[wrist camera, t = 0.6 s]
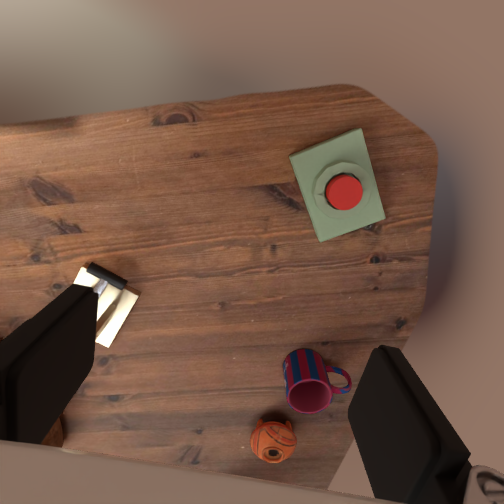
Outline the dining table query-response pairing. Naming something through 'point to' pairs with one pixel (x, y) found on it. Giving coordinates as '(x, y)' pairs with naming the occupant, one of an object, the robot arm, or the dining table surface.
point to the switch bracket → (109, 306)
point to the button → (344, 192)
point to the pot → (273, 441)
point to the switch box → (324, 170)
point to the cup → (310, 381)
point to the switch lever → (105, 278)
